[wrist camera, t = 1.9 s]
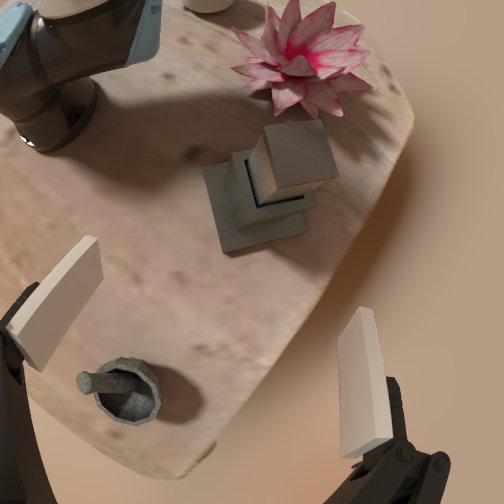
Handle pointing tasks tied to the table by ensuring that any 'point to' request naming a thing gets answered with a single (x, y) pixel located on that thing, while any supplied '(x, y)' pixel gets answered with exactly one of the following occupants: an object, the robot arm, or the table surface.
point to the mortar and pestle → (124, 390)
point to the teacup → (207, 5)
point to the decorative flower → (304, 59)
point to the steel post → (289, 162)
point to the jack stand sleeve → (249, 207)
